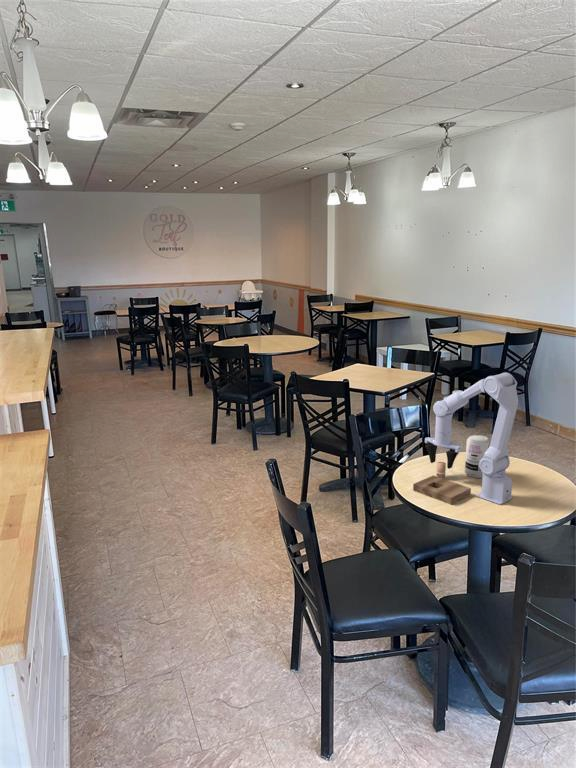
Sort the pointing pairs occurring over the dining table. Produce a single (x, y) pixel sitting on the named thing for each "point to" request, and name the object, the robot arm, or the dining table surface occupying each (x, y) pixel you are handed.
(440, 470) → the peg
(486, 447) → the supplement can
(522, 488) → the dining table surface
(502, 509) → the dining table surface
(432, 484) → the board
